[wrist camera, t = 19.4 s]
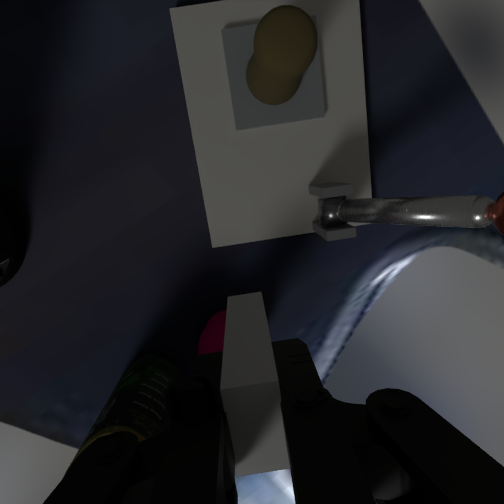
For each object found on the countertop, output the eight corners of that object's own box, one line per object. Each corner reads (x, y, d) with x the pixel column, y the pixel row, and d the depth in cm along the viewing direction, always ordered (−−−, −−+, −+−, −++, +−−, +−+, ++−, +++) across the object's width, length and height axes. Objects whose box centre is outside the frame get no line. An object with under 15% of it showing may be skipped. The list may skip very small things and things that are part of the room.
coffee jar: (147, 342, 46) (89, 452, 28) (194, 374, 47) (167, 499, 29) (106, 391, 47) (25, 527, 29) (153, 421, 49) (103, 568, 31)
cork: (285, 32, 36) (305, -27, 25) (311, 87, 37) (340, 53, 26) (235, 62, 36) (234, 17, 26) (262, 115, 38) (272, 93, 27)
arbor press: (213, 245, 43) (207, 262, 35) (172, 14, 37) (153, -30, 29) (368, 221, 43) (399, 233, 35) (353, -13, 37) (385, -65, 29)
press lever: (311, 231, 37) (555, 251, 21) (307, 195, 36) (559, 185, 20) (335, 224, 40) (573, 236, 23) (332, 189, 39) (578, 176, 22)
